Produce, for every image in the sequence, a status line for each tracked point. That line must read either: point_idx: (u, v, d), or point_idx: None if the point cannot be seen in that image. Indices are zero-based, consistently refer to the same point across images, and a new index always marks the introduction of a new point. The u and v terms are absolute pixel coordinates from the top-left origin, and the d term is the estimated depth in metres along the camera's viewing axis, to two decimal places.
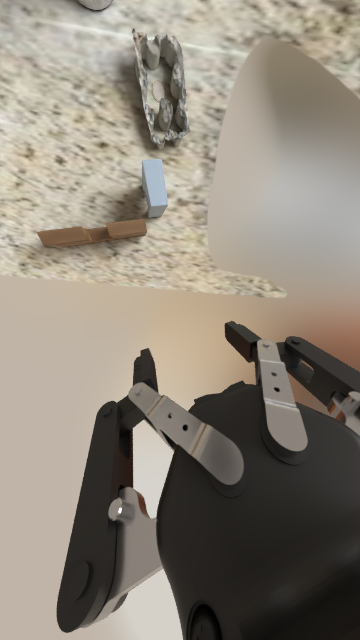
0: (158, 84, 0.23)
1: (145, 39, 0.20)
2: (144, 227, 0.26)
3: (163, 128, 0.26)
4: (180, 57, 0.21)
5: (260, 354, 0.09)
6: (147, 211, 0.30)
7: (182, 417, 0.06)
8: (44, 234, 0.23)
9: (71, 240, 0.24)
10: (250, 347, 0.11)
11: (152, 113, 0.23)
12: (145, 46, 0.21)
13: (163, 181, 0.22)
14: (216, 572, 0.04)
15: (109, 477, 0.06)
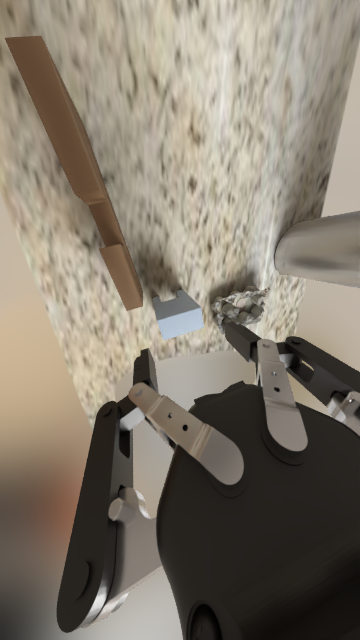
0: (244, 303, 0.29)
1: (263, 295, 0.27)
2: (130, 307, 0.17)
3: (223, 308, 0.28)
4: (255, 321, 0.28)
5: (260, 354, 0.09)
6: (158, 297, 0.24)
7: (182, 417, 0.06)
8: (44, 63, 0.09)
9: (57, 151, 0.10)
10: (250, 347, 0.11)
11: (232, 301, 0.25)
12: (261, 294, 0.27)
13: (185, 332, 0.18)
14: (216, 573, 0.04)
15: (109, 477, 0.06)
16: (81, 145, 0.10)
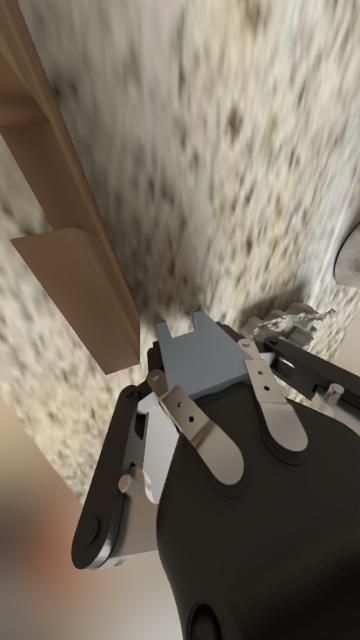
0: (284, 326, 0.21)
1: (318, 318, 0.18)
2: (114, 368, 0.08)
3: (257, 333, 0.19)
4: None
5: None
6: (165, 323, 0.15)
7: (190, 409, 0.07)
8: None
9: None
10: None
11: (276, 326, 0.17)
12: None
13: None
14: (216, 572, 0.04)
15: (123, 453, 0.06)
16: None
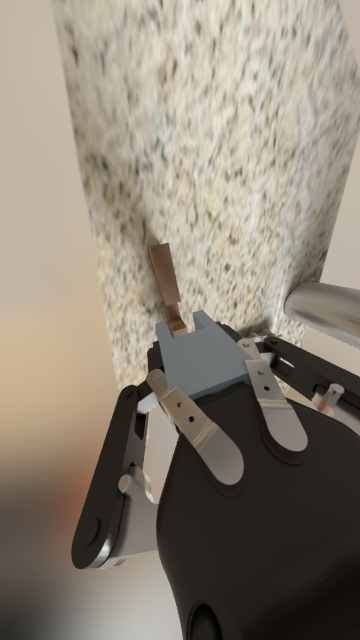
0: (259, 341, 0.36)
1: None
2: None
3: None
4: None
5: None
6: (165, 323, 0.15)
7: (190, 409, 0.07)
8: (166, 253, 0.15)
9: (162, 287, 0.17)
10: None
11: None
12: None
13: None
14: (216, 573, 0.04)
15: (123, 453, 0.06)
16: (176, 283, 0.17)
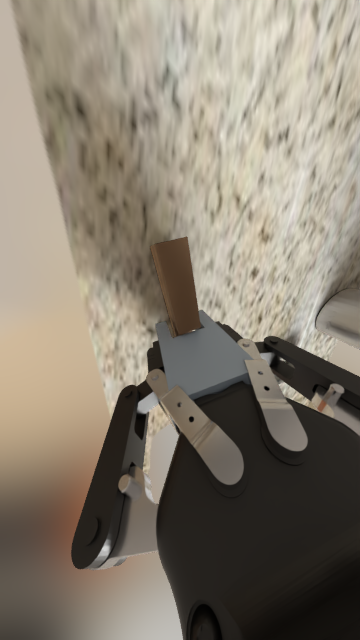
0: (282, 359, 0.30)
1: None
2: None
3: None
4: None
5: None
6: (165, 323, 0.15)
7: (190, 409, 0.07)
8: (183, 254, 0.09)
9: (174, 309, 0.10)
10: None
11: None
12: None
13: None
14: (217, 572, 0.04)
15: (123, 453, 0.06)
16: (196, 301, 0.11)
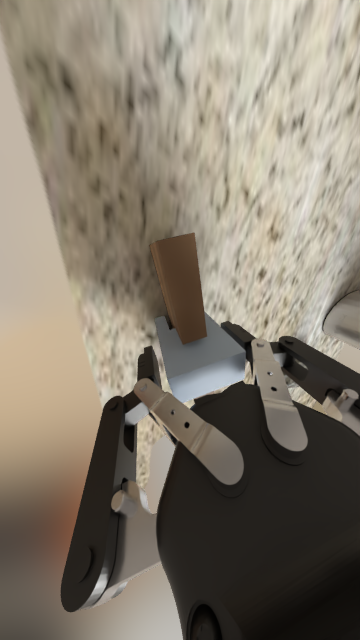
0: None
1: None
2: None
3: None
4: (296, 385, 0.28)
5: (255, 354, 0.09)
6: (163, 317, 0.16)
7: (184, 414, 0.06)
8: (189, 253, 0.07)
9: (178, 316, 0.09)
10: (245, 347, 0.11)
11: None
12: None
13: (214, 389, 0.10)
14: (216, 573, 0.04)
15: (113, 469, 0.06)
16: (202, 307, 0.09)
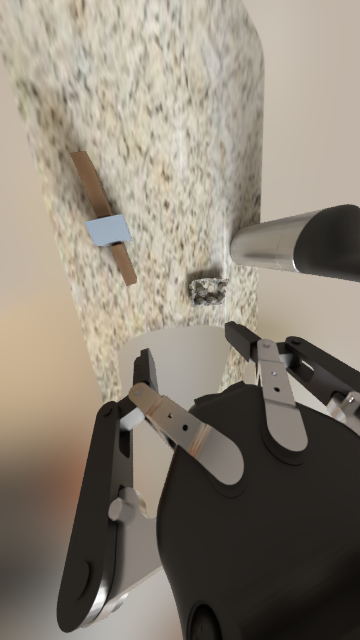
0: (213, 289, 0.40)
1: (225, 285, 0.38)
2: (129, 283, 0.27)
3: (197, 289, 0.38)
4: (218, 303, 0.39)
5: (260, 354, 0.09)
6: None
7: (182, 417, 0.06)
8: (86, 161, 0.18)
9: (90, 197, 0.20)
10: (250, 347, 0.11)
11: (203, 283, 0.36)
12: (224, 284, 0.39)
13: (113, 239, 0.21)
14: (216, 572, 0.04)
15: (109, 477, 0.06)
16: (102, 194, 0.20)
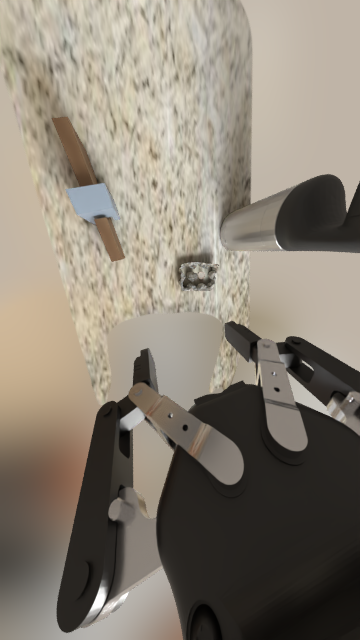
0: (203, 276, 0.40)
1: (215, 271, 0.38)
2: (114, 259, 0.27)
3: (187, 274, 0.38)
4: (207, 289, 0.39)
5: (260, 354, 0.09)
6: None
7: (182, 417, 0.06)
8: (68, 127, 0.19)
9: (72, 166, 0.20)
10: (250, 347, 0.11)
11: (193, 267, 0.36)
12: (214, 271, 0.39)
13: (96, 209, 0.22)
14: (216, 573, 0.04)
15: (109, 477, 0.06)
16: (84, 163, 0.20)
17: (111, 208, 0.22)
